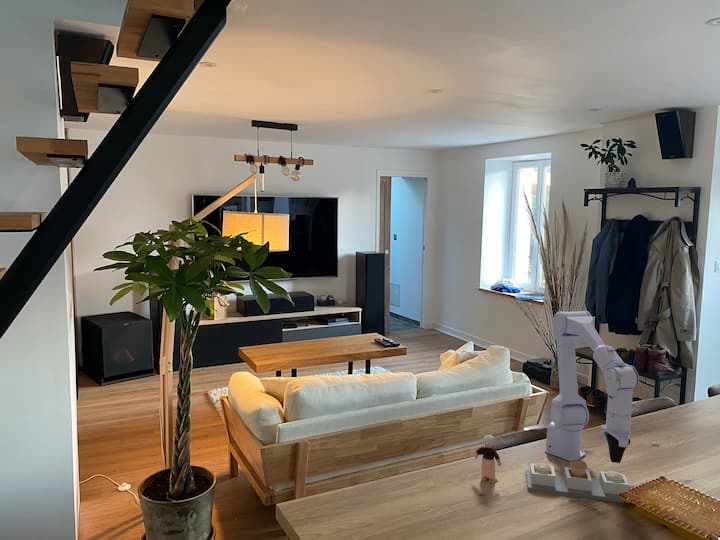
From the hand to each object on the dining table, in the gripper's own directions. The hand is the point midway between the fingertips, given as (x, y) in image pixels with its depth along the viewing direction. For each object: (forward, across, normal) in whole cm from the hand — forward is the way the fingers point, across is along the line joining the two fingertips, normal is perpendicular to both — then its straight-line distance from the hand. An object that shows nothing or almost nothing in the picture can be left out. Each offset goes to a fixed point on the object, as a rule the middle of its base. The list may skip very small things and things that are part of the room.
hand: (615, 461), depth 142 cm
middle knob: (+5, 0, -9) cm, 10 cm away
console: (+8, 0, -9) cm, 12 cm away
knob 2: (+7, 0, 0) cm, 7 cm away
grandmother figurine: (+9, +2, -32) cm, 34 cm away
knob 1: (+7, 0, -18) cm, 19 cm away
